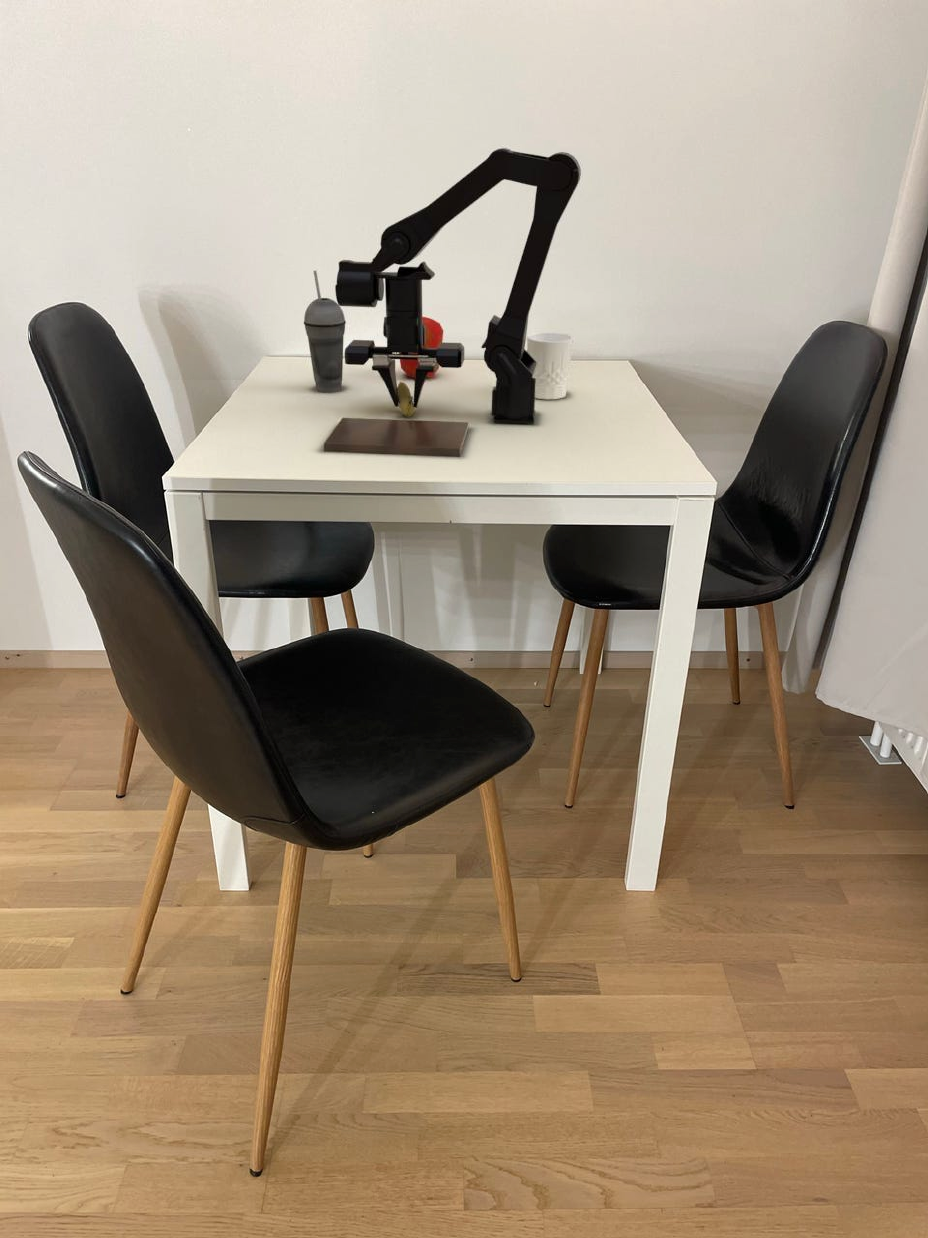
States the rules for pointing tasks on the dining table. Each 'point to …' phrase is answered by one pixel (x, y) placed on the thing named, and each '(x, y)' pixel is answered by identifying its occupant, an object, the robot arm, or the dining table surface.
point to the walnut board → (398, 437)
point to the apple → (432, 341)
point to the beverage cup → (325, 341)
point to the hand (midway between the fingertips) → (406, 406)
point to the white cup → (550, 363)
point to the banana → (405, 399)
